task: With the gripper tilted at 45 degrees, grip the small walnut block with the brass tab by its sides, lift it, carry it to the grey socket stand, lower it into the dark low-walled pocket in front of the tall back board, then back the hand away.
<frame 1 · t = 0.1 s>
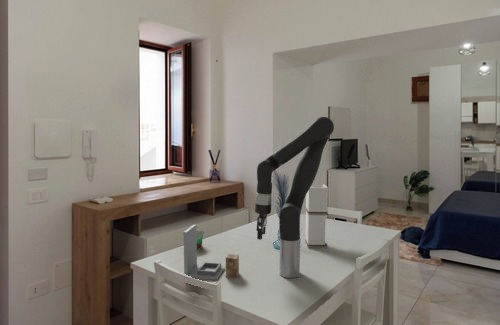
hand: (261, 236, 165), 17 cm above the table, tool pointing down, fingers open, 8 cm apart
walnut block: (232, 275, 163), on the table
grey socket stand: (209, 273, 166), on the table
white square tower: (315, 245, 206), on the table
food container: (194, 248, 200), on the table
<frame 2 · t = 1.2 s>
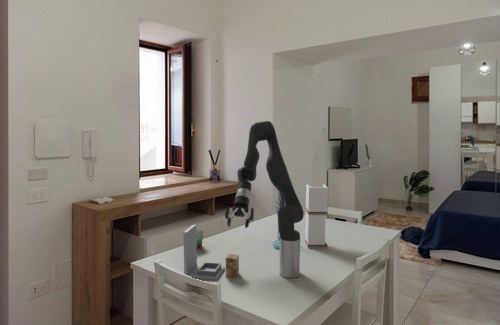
hand: (237, 226, 173), 20 cm above the table, tool tilted 45°, fingers open, 8 cm apart
nothing on the table moved.
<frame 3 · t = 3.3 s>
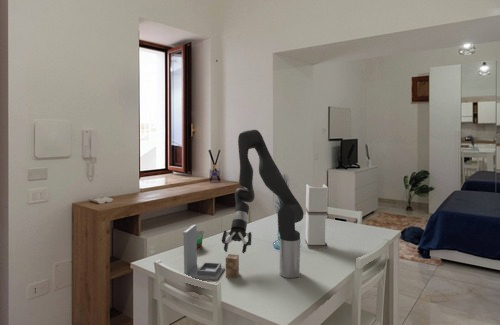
hand: (234, 252, 167), 9 cm above the table, tool tilted 45°, fingers open, 8 cm apart
nothing on the table moved.
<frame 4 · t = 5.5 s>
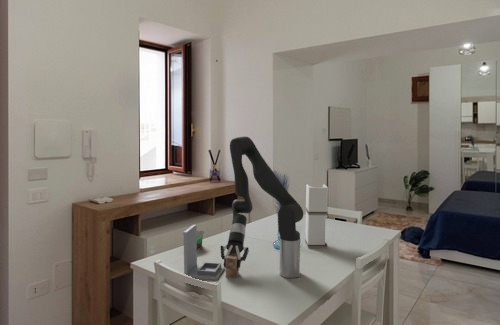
hand: (231, 267, 161), 4 cm above the table, tool tilted 45°, fingers closed on walnut block, 5 cm apart
walnut block: (232, 275, 163), on the table, touching gripper
everything else where it was.
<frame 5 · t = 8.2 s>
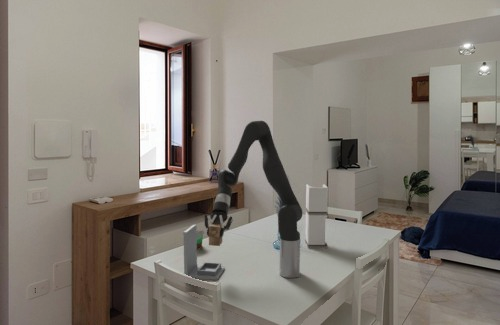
hand: (214, 236, 162), 18 cm above the table, tool tilted 45°, fingers closed on walnut block, 5 cm apart
walnut block: (215, 243, 164), point 14 cm above the table, touching gripper
everything else where it was.
when the fingers open (6 cm above the table, at t = 11.2 s): walnut block drops 1 cm, resting on grey socket stand.
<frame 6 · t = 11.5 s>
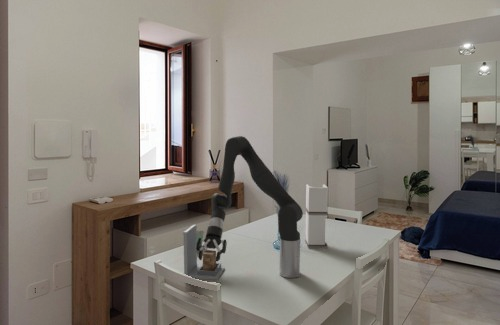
hand: (208, 260, 163), 7 cm above the table, tool tilted 45°, fingers open, 7 cm apart
walnut block: (209, 270, 165), point 1 cm above the table, touching grey socket stand
everything else where it was.
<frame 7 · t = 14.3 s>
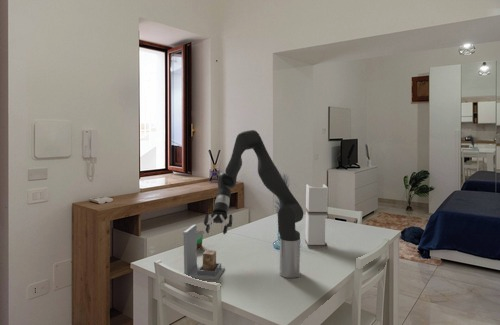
hand: (215, 233, 175), 16 cm above the table, tool tilted 45°, fingers open, 8 cm apart
nothing on the table moved.
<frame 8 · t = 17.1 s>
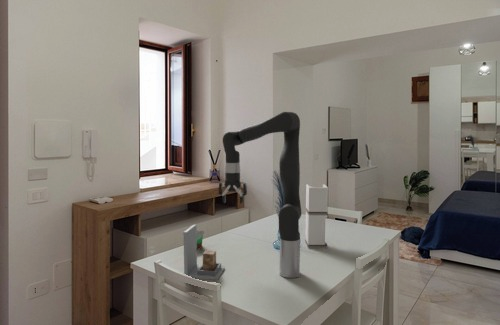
hand: (232, 203, 179), 30 cm above the table, tool pointing down, fingers open, 8 cm apart
nothing on the table moved.
at the end: walnut block 0.1 cm off-centre on the grey socket stand, point 1.2 cm above the grey socket stand's base; walnut block tilted 0°; the gripper is holding nothing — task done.
